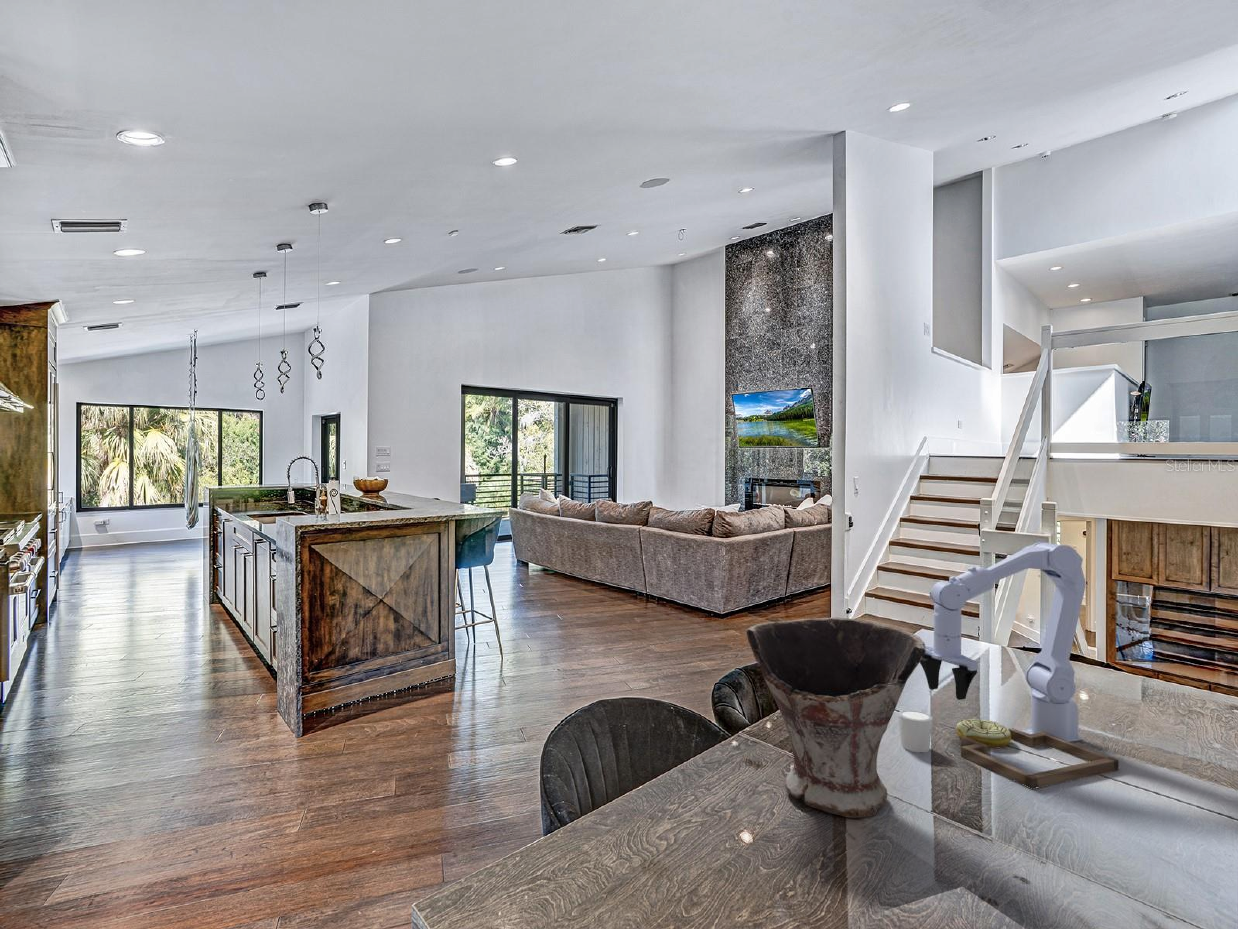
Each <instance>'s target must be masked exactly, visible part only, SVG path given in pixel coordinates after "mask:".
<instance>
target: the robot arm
mask: <svg viewBox="0 0 1238 929" xmlns="http://www.w3.org/2000/svg"><path fill="white" fill-rule="evenodd" d="M1083 561H1084V559H1083V557H1082V556H1081V555H1080V554H1079V553H1078V552H1077V550H1076V549H1074V548H1073V547H1071V546H1070V545H1065V544H1055V543H1051V542H1047V541H1038V542H1035V543H1033V544H1031V545H1027V546H1025V547H1024V548H1022V549H1020V550H1019V551H1017V552H1015V553H1013V554H1011V555H1010V556H1007V557H1006V558H1004V559H1002V560H1000V561H997V562H996V563H994V564H993V565H991V566H989V567H987V568H984V567H981V566H976V567H975V566H969V567H968V568H967V571H966V572H964V573H961V574H958V575H957V576H954V575H953V576H949V577H948V579H949V580H948V581H947V580H946V581H944V580H941V581H938V582H936V583H935V584H934V585H933V587H931V591H929V593H928V594H929V597H930V599H931V601H932V602H933V647H930V646H927V645H925V648H926V652H925V654H924V656H923V657H922V659H921V661H920V662H919V664H920V665H921V667H922V669H923V672H924V675H925V678H926V680H927V681H926V682H927V685H928V688H929V690H931V691H933V690H938V689H939V684H940V683H939V682H940V680H939V679H940V671H941V666H942V662H945V663H948V664H951V665H955V666H957V667H952V668H951V672H952V674H953V678H954V682H955V683H954V684H955V697H956V700H959V701H960V700H962V701H963V700H966V698H967V695H968V692H969V689H970V686H971V683H972V681H973V679H974V678H975V677H976V675H977V674H978V670H979V668H978V666H979V665H978V664H979V661H978V660H974V659H971V658H969V656H965V655H963V654H962V608H964V606H965V605H966V603H967V602H968V601H969V600H972V599H973V598H977V597H978V596H980V595H982V594H985V593H988V592H989V591H991V590H993V589H994V587H995V584H996V582H998V581H1000V580H1002V579H1005V578H1008V577H1011V576H1013V575H1015V574H1018V573H1021V572H1023V571H1025V570H1028V569H1033V570H1039V571H1042V572H1043V573H1045V574H1046V576H1047V577H1048V578H1049V579H1050V580H1051V581H1052V583H1054V585H1055V589H1054V594H1053V598H1052V603H1051V607H1050V610H1049V616H1048V620H1047V624H1046V628H1045V632H1044V638H1043V643H1042V647H1041V650H1040V652H1038V654H1036V655H1035V656H1033V659H1032V663H1031V664H1030V666H1029V667H1028V668H1027V670H1026V671H1025V681H1026V683H1027V685H1028V686H1029V687H1030V693H1031V694H1030V695H1031V696H1030V699H1031V700H1030V728H1028V729H1023V730H1021V732H1024V733H1027V734H1034V733H1040V732H1045V733H1047V734H1050V735H1053V736H1055V737H1058V738H1061V739H1063V740H1066V741H1069V742H1071V743H1073V742H1076V741H1078V742H1079V741H1082V740H1083V737H1081V736H1079V719H1080V718H1079V717H1080V716H1079V708H1078V705H1077V704H1076V702H1075V701H1074V700H1073V697H1074V696H1075V693H1076V690H1077V689H1076V684H1075V673H1076V671H1075V669H1074V667H1073V666H1072V663H1071V662H1070V657H1071V652H1072V647H1073V643H1074V639H1075V635H1076V631H1077V626H1078V623H1079V622H1078V620H1079V617H1080V614H1081V608H1082V603H1083V600H1084V596H1085V591H1086V584H1087V583H1086V582H1087V580H1086V578H1085V575H1084V571H1083V566H1082V565H1083Z"/></svg>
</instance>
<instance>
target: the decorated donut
mask: <svg viewBox="0 0 1238 929" xmlns="http://www.w3.org/2000/svg"><path fill="white" fill-rule="evenodd" d="M1008 729H1009V728H1008V727H1006V726H1005V725H1003V724H1001V723H999V722H996V721H993V720H988V719H983V718H982V719H980V718H968V719H967V718H966V719H964V720H962V721H960V722H958V723H957V724H956V734H957V737H958V738H959V739H960V740H961V737H965V736H966V737H969V738H971V739H973V740H976V741H978V742H980V743H983V744H985V745H987V746H988V748H991V749H995V748H1005V747H1006V746H1007V747H1008V745H1009V744H1010V743H1011V741H1012V739H1011V733H1010V731H1009V730H1008ZM1004 746H1005V747H1004Z"/></svg>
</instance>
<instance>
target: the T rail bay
mask: <svg viewBox="0 0 1238 929" xmlns="http://www.w3.org/2000/svg"><path fill="white" fill-rule="evenodd" d="M1007 729H1008V730H1009V731H1010V733H1011V740H1012V739H1014V740H1013V741H1015V740H1016V741H1015V742H1017V741H1018V743H1019V742H1020V743H1021V744H1022V743H1023V744H1022V745H1024V744H1025V746H1028V747H1029V746H1033V747H1038V746H1043V745H1045V746H1048V747H1051V748H1053V749H1056V750H1058V749H1059V750H1058V751H1061V752H1063V753H1066V754H1068V753H1069V754H1068V755H1072V756H1074V757H1076V756H1078V757H1077V758H1079V759H1082V760H1085V761H1086V760H1088V761H1087V762H1083V763H1077V764H1073V765H1068V766H1064V767H1059V768H1053V769H1049V770H1044V771H1040V772H1036V773H1029V772H1026V771H1024V770H1022V769H1020V768H1017V767H1015V766H1014V765H1010V764H1008V763H1006V762H1004V761H1002V760H999V759H997V758H995V757H993V756H991V755H989V747H988V746H987V745H985V744H983V743H980V742H978V741H976V740H973V739H971V738H969V737H966V736H965V737H961V739H960V757H962V758H963V759H965V760H968V761H970V762H972V763H974V764H977V765H979V766H981V767H983V768H986V769H988V770H989V771H992V772H994V773H996V774H998V775H1001V776H1002V777H1004V778H1007V779H1009V780H1012V781H1013V780H1015V781H1017V782H1019V783H1018V784H1020V785H1022V784H1024V785H1026V786H1028V787H1030V788H1032V789H1031V790H1034V789H1033V788H1036V787H1041V788H1043V787H1042V786H1046V785H1050V786H1052V785H1051V784H1054V785H1058V784H1062V783H1067V782H1066V781H1068V782H1071V781H1070V780H1072V781H1075V780H1081V779H1085V778H1089V777H1093V776H1097V775H1102V774H1106V773H1111V772H1115V771H1119V769H1120V768H1119V766H1120V765H1119V763H1120V762H1119V759H1116V758H1114V757H1112V756H1108V755H1106V754H1103V753H1101V752H1098V751H1096V750H1092V749H1091V748H1087V747H1085V746H1081V745H1079V744H1076V743H1073V742H1069V741H1066V740H1063V739H1061V738H1058V737H1055V736H1053V735H1050V734H1047V733H1045V732H1040V733H1034V734H1027V733H1024V732H1022V730H1018V729H1016V728H1013V727H1012V728H1007ZM1089 761H1090V762H1089ZM1084 777H1085V778H1084ZM1080 778H1081V779H1080ZM1015 781H1014V782H1015ZM1017 782H1016V783H1017ZM1024 785H1023V786H1024ZM1026 786H1025V787H1026ZM1028 787H1027V788H1028ZM1046 787H1047V786H1046ZM1030 788H1029V789H1030Z"/></svg>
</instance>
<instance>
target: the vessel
mask: <svg viewBox="0 0 1238 929" xmlns="http://www.w3.org/2000/svg"><path fill="white" fill-rule="evenodd" d="M746 637H747V640H748V641H747V642H748V643H749V646H750V649H751V652H752V653H753V658H754V660H755V662H756V663H757V664H758V666H759V668H760V670H761V674H762V676H763V678H764V681H765V682H766V685H767V687H768V689H769V691H770V693H771V695H772V697H773V699H774V701H775V703H776V705H777V708H778V710H779V712H780V715H781V717H782V720H783V722H784V725H785V729H786V731H787V735H788V737H789V741H790V744H791V749H792V755H793V767H792V768H791V770H790V771H789V772H788V773H787V774H786V778H785V784H784V785H785V790H786V791H787V793H789V794H790V795H791V796H792V797H793V798H795V799H797V800H800V799H801V800H802V801H803V803H804V804H805V805H806V806H808V807H811V808H814V809H816V810H817V809H818V810H821V811H824V812H826V813H830V814H833V815H836V816H837V815H838V816H842V817H845V818H850V819H851V818H852V819H858V818H868V817H872V816H875V815H877V811H878V809H880V808H881V807H882V806H883V805H884V804H885V803H886V801H887V798H888V790H887V787H886V786H885V784H884V783H883V782H882V780H881V778H880V776H879V774H878V771H877V770H878V769H877V768H878V767H877V766H878V755H879V748H880V745H881V743H882V742H881V741H882V739H883V736H884V734H885V733H886V732H887V729H888V726H889V723H890V721H891V720H892V717H893V714H894V712H895V710H896V708H897V706H898V703H899V701H900V698H901V697H902V696H901V695H902V693H903V692H904V688H905V686H906V684H907V681H908V679H909V678H910V677H911V676H912V674H913V673H914V671H915V670H916V668H917V667H918V666H919V664H920V661H921V659H922V657H923V656H924V654H925V652H926V648H925V646H926V643H925V642H924V641H923V640H922V638H920V637H919V636H918V635H916V634H914V633H911V632H909V631H908V630H904V629H903V628H901V627H897V626H895V625H890V624H889V625H888V624H882V623H881V624H880V623H876V622H873V621H869V620H865V619H860V618H848V617H818V618H815V617H814V618H802V619H801V618H800V619H793V620H779V621H770V622H762V623H757V624H755V625H753V626H750V627H748V628H747V630H746Z"/></svg>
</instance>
